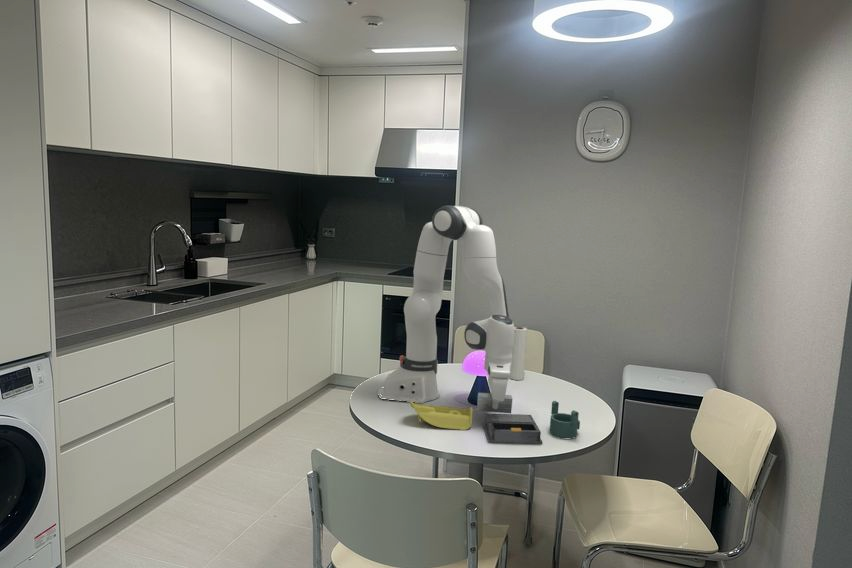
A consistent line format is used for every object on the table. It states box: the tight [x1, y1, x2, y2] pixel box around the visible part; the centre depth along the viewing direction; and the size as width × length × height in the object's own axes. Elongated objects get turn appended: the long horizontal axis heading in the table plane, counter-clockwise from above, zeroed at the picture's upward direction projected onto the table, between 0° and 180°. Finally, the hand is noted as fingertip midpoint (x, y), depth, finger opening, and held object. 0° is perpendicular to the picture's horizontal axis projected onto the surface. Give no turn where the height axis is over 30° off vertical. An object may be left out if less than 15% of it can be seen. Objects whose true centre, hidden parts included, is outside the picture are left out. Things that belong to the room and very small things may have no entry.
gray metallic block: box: [476, 392, 513, 414], centre depth 184 cm, size 11×4×5 cm, turn 88°
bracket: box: [549, 400, 581, 439], centre depth 173 cm, size 9×9×9 cm
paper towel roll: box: [509, 326, 528, 381], centre depth 229 cm, size 7×6×21 cm
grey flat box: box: [482, 412, 543, 445], centre depth 171 cm, size 16×14×4 cm
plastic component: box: [409, 401, 473, 431], centre depth 178 cm, size 20×7×10 cm
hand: (494, 405), depth 184 cm, fingers closed on gray metallic block, 4 cm apart
